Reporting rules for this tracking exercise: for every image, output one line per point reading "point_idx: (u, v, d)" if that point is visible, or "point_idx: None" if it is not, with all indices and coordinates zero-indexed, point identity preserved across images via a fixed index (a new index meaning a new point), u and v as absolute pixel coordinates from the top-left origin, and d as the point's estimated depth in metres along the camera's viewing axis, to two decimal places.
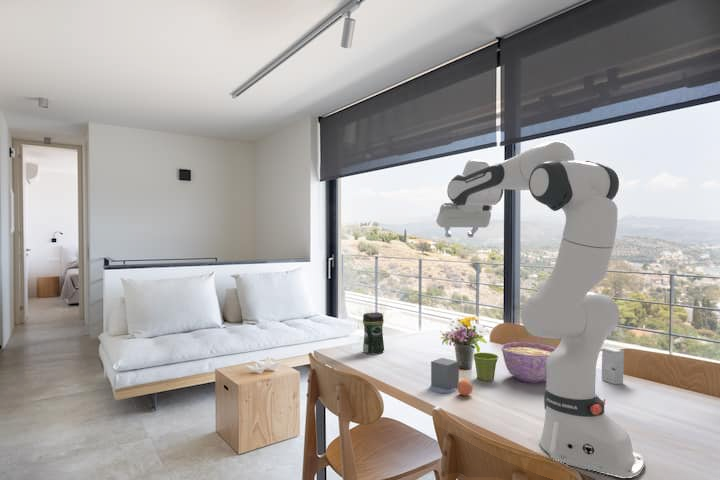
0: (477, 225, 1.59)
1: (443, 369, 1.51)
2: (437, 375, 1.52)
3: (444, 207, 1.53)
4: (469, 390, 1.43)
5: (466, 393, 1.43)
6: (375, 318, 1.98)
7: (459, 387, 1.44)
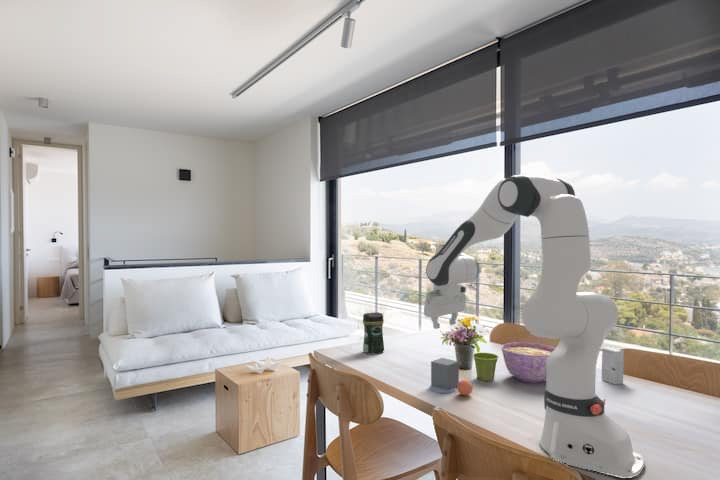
0: (457, 309, 1.58)
1: (443, 369, 1.51)
2: (437, 375, 1.52)
3: (430, 296, 1.49)
4: (469, 390, 1.43)
5: (466, 393, 1.43)
6: (375, 318, 1.98)
7: (459, 387, 1.44)
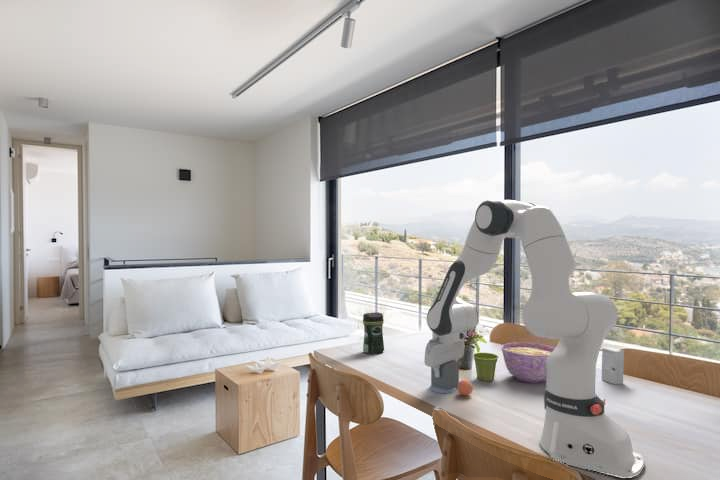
0: (457, 356, 1.57)
1: (443, 369, 1.51)
2: None
3: (430, 345, 1.48)
4: (469, 390, 1.43)
5: (466, 393, 1.43)
6: (375, 318, 1.98)
7: (459, 387, 1.44)
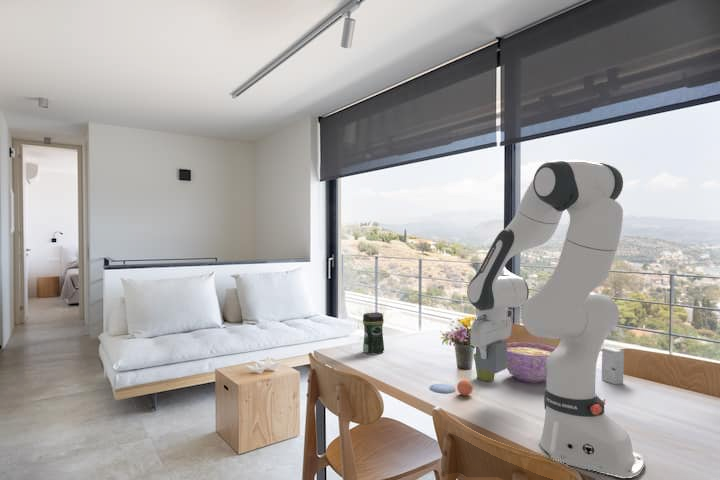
0: (504, 336, 1.41)
1: (490, 349, 1.35)
2: None
3: (477, 322, 1.32)
4: (469, 390, 1.43)
5: (466, 393, 1.43)
6: (375, 318, 1.98)
7: (459, 387, 1.44)
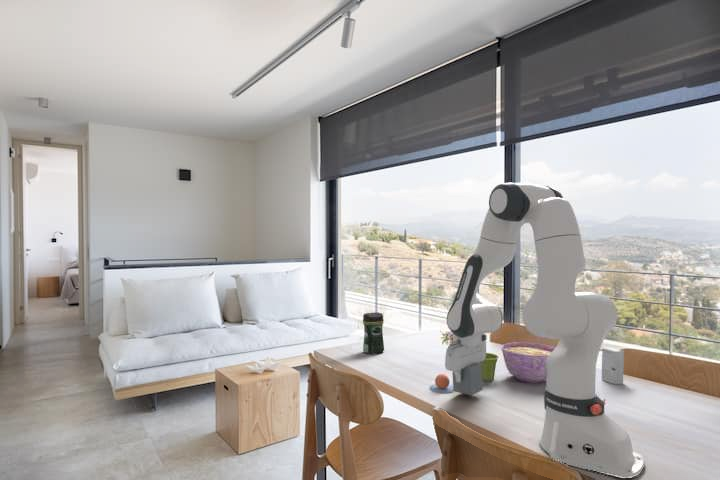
0: (479, 360, 1.47)
1: (466, 372, 1.41)
2: None
3: (451, 347, 1.38)
4: None
5: (435, 380, 1.52)
6: (375, 318, 1.98)
7: (440, 384, 1.50)
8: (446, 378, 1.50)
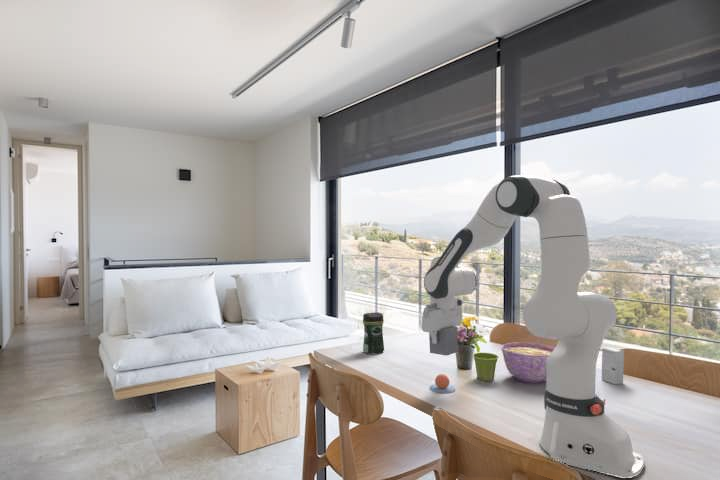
0: (455, 324, 1.54)
1: (441, 334, 1.48)
2: None
3: (427, 310, 1.45)
4: None
5: (435, 380, 1.52)
6: (375, 318, 1.98)
7: (440, 384, 1.50)
8: (446, 378, 1.50)
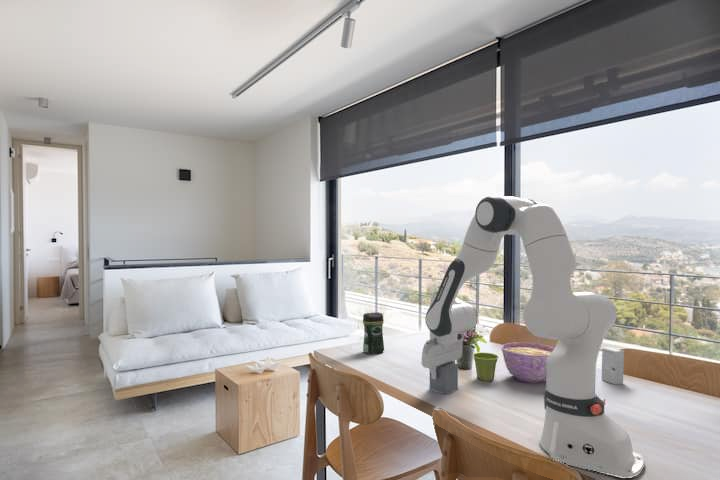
0: (455, 357, 1.54)
1: (442, 372, 1.47)
2: None
3: (427, 346, 1.45)
4: None
5: None
6: (375, 318, 1.98)
7: None
8: None
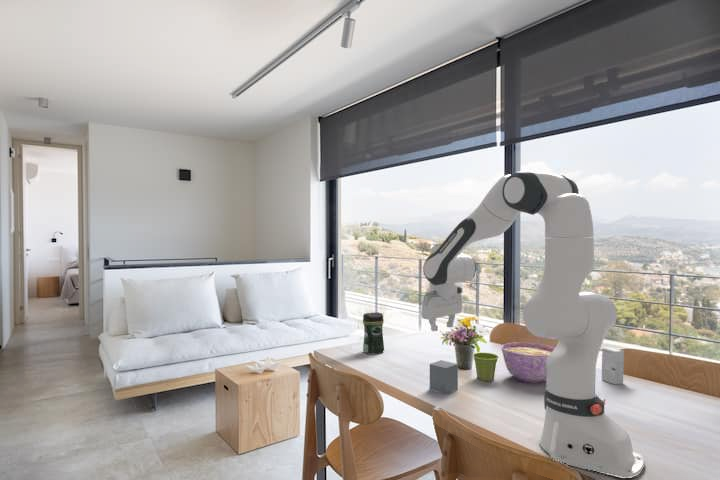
0: (455, 311, 1.54)
1: (442, 372, 1.47)
2: (436, 378, 1.49)
3: (427, 297, 1.45)
4: None
5: None
6: (375, 318, 1.98)
7: None
8: None
